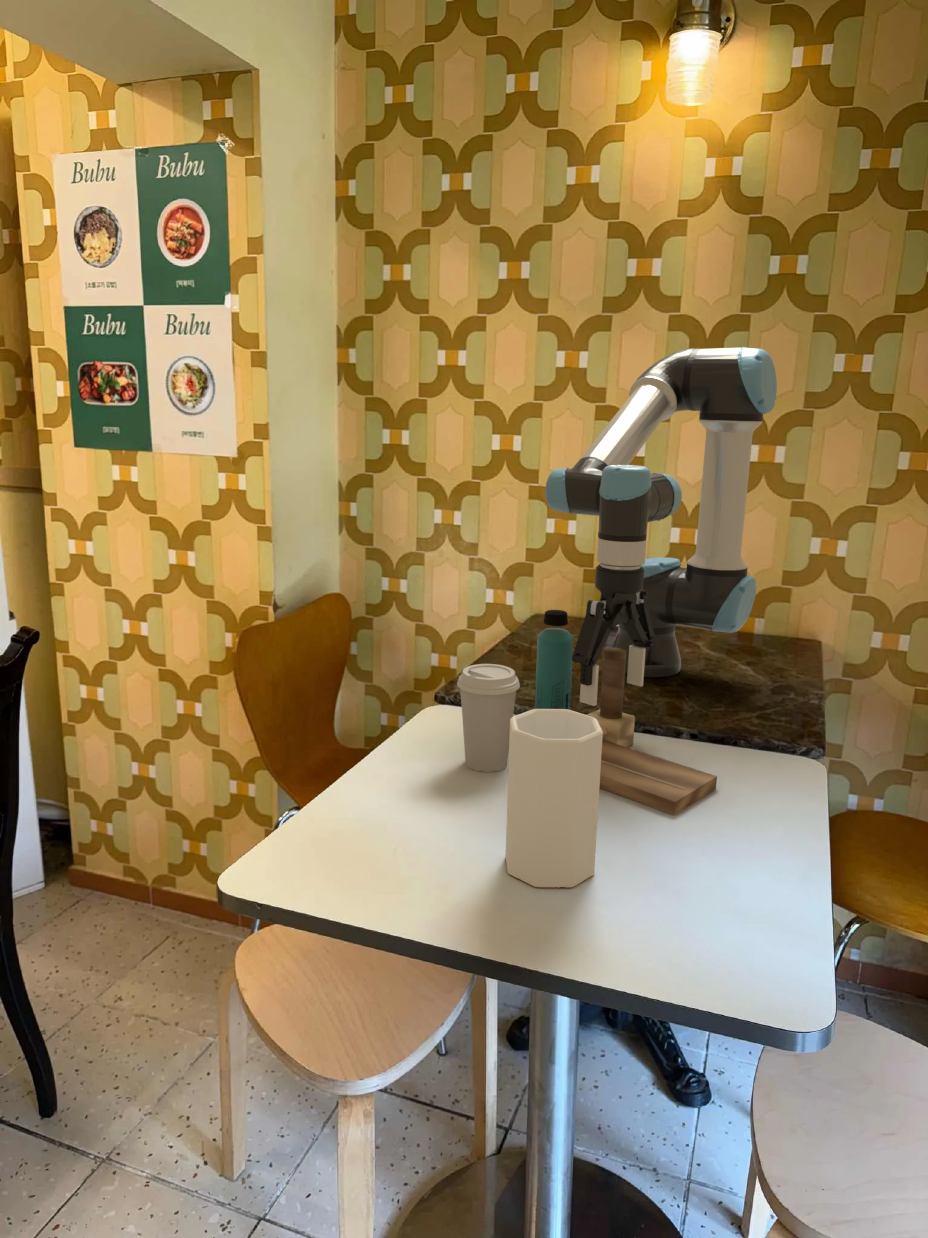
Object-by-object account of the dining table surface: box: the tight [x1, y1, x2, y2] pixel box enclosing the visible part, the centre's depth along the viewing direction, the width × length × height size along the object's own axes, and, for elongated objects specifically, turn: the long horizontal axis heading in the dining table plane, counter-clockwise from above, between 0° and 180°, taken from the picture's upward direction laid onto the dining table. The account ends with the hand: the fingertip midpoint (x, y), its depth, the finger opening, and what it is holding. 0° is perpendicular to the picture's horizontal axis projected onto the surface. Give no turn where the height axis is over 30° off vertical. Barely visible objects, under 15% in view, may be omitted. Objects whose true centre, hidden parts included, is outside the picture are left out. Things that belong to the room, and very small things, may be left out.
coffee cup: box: [456, 663, 521, 773], centre depth 138 cm, size 10×10×15 cm
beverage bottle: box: [533, 609, 574, 710], centre depth 156 cm, size 6×7×20 cm
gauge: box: [586, 647, 636, 748], centre depth 143 cm, size 15×6×16 cm, turn 137°
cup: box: [505, 708, 603, 889], centre depth 108 cm, size 11×11×18 cm
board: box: [599, 740, 718, 816], centre depth 136 cm, size 12×26×2 cm, turn 47°
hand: (612, 693), depth 147 cm, fingers open, 13 cm apart
